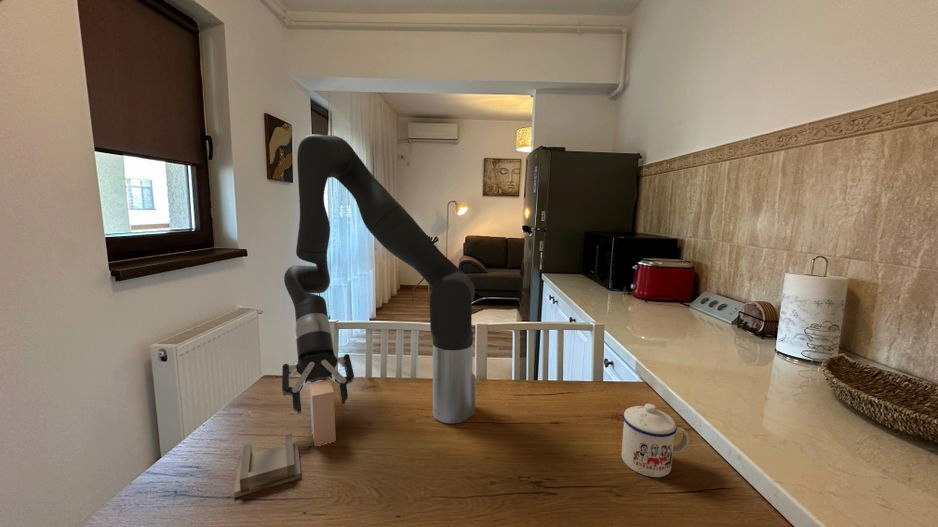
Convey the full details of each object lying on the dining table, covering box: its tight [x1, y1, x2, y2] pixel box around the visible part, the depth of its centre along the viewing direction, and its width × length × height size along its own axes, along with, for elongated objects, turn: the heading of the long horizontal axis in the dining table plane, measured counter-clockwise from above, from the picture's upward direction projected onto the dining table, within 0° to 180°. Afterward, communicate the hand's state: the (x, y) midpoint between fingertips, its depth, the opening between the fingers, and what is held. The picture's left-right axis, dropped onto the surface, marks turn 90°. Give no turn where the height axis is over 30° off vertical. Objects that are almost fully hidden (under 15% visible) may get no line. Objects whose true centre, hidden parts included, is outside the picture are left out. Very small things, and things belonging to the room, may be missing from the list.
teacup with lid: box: [621, 403, 690, 478], centre depth 69 cm, size 12×9×12 cm
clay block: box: [309, 379, 337, 447], centre depth 76 cm, size 4×6×11 cm, turn 28°
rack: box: [233, 433, 302, 498], centre depth 67 cm, size 10×10×3 cm
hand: (322, 407), depth 76 cm, fingers open, 8 cm apart
